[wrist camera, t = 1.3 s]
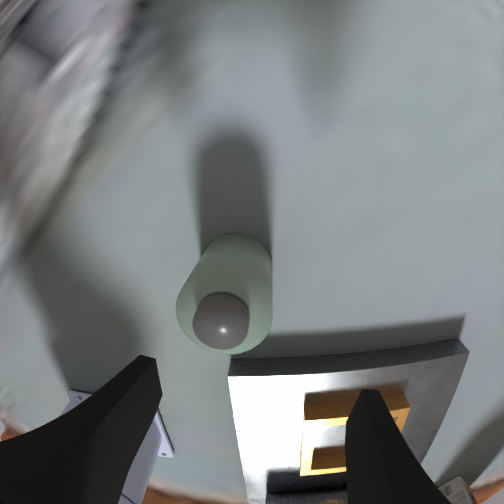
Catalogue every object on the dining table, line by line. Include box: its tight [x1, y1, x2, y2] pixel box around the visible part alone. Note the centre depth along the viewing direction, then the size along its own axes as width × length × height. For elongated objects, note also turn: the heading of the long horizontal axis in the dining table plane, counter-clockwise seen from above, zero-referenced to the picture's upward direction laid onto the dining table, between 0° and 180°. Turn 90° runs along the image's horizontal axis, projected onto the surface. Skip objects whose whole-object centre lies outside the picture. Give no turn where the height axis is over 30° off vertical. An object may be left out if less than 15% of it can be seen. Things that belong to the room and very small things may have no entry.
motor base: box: [228, 338, 469, 504], centre depth 21 cm, size 18×22×7 cm
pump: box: [176, 233, 272, 355], centre depth 17 cm, size 4×4×7 cm
